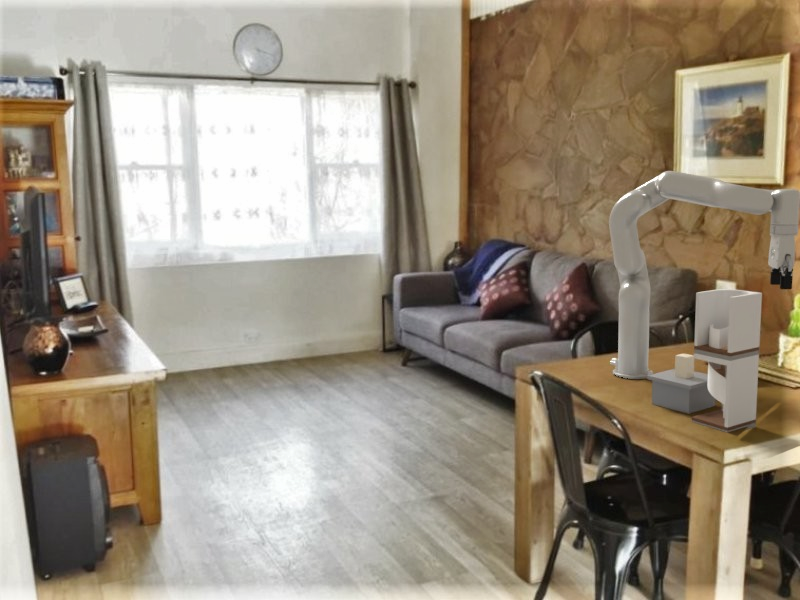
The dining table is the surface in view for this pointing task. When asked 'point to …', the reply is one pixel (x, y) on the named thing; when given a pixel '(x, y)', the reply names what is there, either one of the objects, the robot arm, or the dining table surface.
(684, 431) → the dining table surface
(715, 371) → the display case
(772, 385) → the dining table surface
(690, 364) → the lid
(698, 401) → the open box
